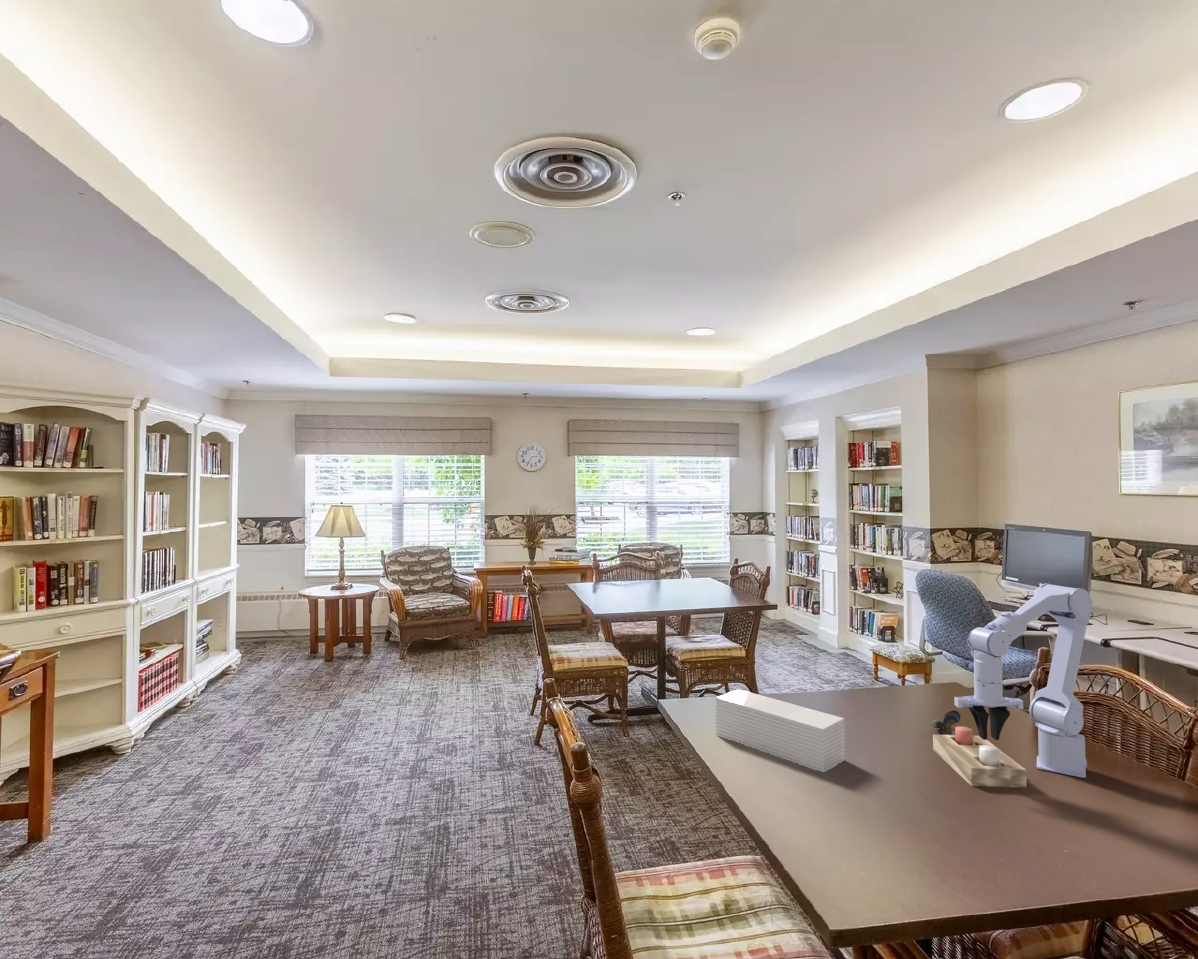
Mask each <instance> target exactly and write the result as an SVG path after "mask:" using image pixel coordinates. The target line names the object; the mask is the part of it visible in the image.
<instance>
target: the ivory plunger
mask: <svg viewBox="0 0 1198 959" xmlns="http://www.w3.org/2000/svg"><path fill="white" fill-rule="evenodd" d="M995 747H996V746H995ZM995 747H993V746H988V745H981V746H979V762H980V763H981V764H982V765H983V766H999V750H1000V749H999V748H998V747H997V748H998V749H997V748H995Z"/></svg>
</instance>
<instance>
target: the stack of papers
mask: <svg viewBox="0 0 1198 959" xmlns="http://www.w3.org/2000/svg"><path fill="white" fill-rule="evenodd" d="M715 725H716V726H715V736H716V735H717V737H719V736H720V738H722V739H725V740H727V741H728V740H729V741H731V740H733V741H736V742H738V743H737V744H739V743H741V744H740V745H742V744H744V745H743V746H745V745H747V746H746V747H748V746H750V747H753V748H755V749H754V750H756V749H758V750H757V751H759V750H760V751H759V752H762V751H763V752H762V753H765V752H766V753H765V754H767V753H769V754H768V755H770V754H771V756H773V755H776V756H779V757H781V758H780V759H782V758H784V759H787V760H789V761H788V762H790V761H792V762H791V763H793V762H795V763H794V764H796V763H798V764H797V765H799V764H800V765H799V766H801V765H803V766H802V767H804V766H806V767H805V768H807V767H808V768H807V769H810V768H811V770H813V769H814V770H813V771H816V770H818V771H821V772H825V771H826V770H828V771H830V770H831V769H833V768H835V767H836V766H838V765H840V764H841V763H843V762H844V760H845V761H846V757H845V756H846V750H845V748H846V744H845V740H846V738H845V734H846V732H845V731H846V730H845V718H844V717H841V716H838V715H835V714H834V715H833V714H830V713H826V712H822V711H819V710H815V709H812V708H807V707H804V706H800V705H798V704H794V703H791V702H787V701H783V700H779V699H776V698H773V697H768V696H765V695H761V694H758V693H755V692H751V691H746V690H743V689H739V688H738V689H735V690H731V691H729V692H727V693H724V694H721V695H718V696H716V697H715ZM733 741H732V742H733ZM736 742H735V743H736ZM750 747H749V748H750ZM753 748H752V749H753ZM776 756H775V757H776ZM779 757H778V758H779ZM784 759H783V760H784ZM787 760H786V761H787ZM842 761H843V762H842ZM839 763H840V764H839ZM837 764H838V765H837ZM829 769H830V770H829ZM818 771H817V772H818ZM821 772H820V773H821ZM826 772H827V771H826ZM826 772H825V773H826Z"/></svg>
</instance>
